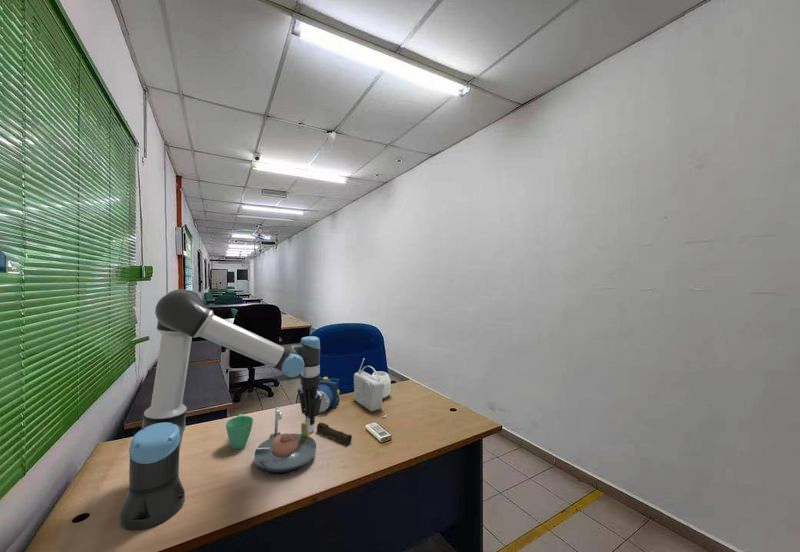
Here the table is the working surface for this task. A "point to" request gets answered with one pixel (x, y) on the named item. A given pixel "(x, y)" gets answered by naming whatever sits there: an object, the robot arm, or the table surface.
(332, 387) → the valve
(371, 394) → the radio
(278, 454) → the cover
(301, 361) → the robot arm
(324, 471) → the table surface
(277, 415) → the indicator stand
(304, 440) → the turntable
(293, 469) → the turntable base
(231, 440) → the mug
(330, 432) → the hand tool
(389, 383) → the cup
